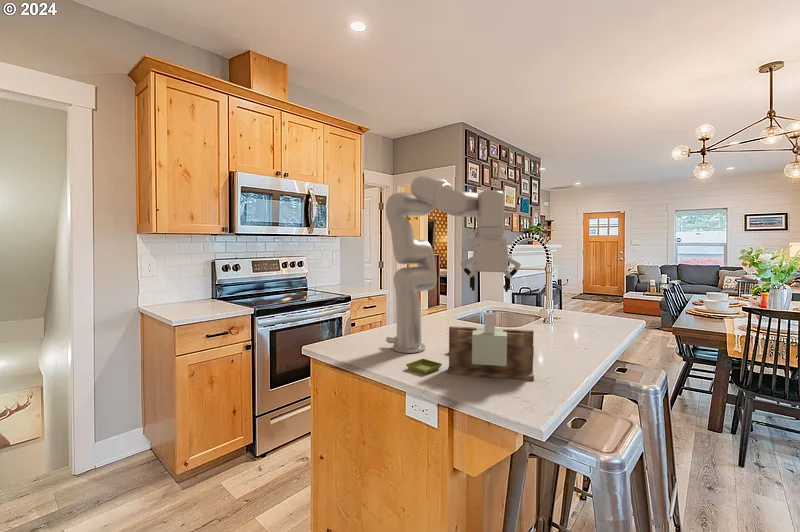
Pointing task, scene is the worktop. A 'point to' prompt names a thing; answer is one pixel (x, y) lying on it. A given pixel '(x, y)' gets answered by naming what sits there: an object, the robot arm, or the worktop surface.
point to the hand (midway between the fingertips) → (489, 290)
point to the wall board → (515, 369)
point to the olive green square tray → (424, 366)
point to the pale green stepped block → (489, 344)
